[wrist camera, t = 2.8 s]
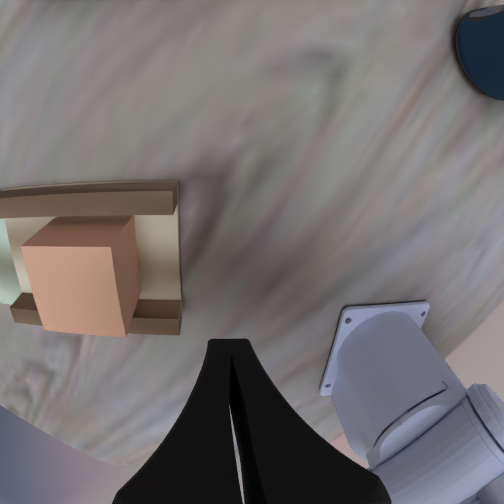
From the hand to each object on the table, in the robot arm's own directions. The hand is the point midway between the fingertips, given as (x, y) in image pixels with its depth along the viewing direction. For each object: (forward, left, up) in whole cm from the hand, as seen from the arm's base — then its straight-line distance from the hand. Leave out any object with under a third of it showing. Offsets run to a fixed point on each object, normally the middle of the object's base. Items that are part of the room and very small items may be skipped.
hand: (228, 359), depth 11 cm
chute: (0, +14, -9) cm, 17 cm away
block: (0, +7, -8) cm, 11 cm away
